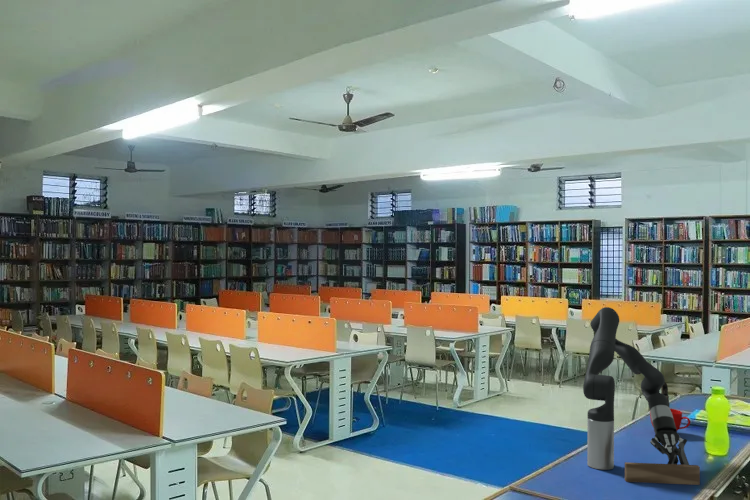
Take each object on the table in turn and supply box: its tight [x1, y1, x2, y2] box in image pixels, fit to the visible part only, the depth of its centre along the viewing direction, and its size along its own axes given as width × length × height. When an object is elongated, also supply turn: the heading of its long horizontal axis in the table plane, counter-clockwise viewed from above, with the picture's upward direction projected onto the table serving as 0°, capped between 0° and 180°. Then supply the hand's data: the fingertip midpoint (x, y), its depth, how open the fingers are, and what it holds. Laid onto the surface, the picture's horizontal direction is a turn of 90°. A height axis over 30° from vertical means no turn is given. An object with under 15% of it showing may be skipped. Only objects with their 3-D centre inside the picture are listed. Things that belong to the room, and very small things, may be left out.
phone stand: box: [667, 441, 690, 465], centre depth 225 cm, size 9×6×12 cm, turn 54°
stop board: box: [624, 461, 701, 486], centre depth 220 cm, size 2×24×6 cm, turn 85°
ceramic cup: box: [649, 408, 691, 432], centre depth 283 cm, size 13×17×10 cm
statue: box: [660, 381, 670, 405], centre depth 307 cm, size 4×7×20 cm, turn 102°
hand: (674, 464), depth 228 cm, fingers closed
